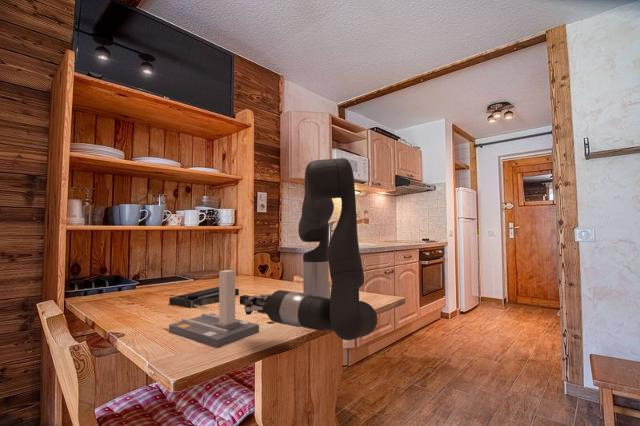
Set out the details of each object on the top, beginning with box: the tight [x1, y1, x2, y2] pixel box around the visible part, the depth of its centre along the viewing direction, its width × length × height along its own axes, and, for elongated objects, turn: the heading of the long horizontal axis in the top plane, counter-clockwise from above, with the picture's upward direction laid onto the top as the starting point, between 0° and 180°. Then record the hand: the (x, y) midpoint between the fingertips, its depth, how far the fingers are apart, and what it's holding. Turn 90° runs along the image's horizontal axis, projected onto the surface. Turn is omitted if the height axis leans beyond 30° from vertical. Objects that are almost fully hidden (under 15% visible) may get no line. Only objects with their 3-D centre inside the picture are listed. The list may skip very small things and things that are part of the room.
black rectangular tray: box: [168, 286, 240, 309], centre depth 127 cm, size 25×4×20 cm
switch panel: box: [168, 312, 260, 349], centre depth 88 cm, size 14×22×3 cm, turn 55°
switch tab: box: [215, 269, 239, 330], centre depth 85 cm, size 5×4×16 cm
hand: (241, 299), depth 81 cm, fingers closed
